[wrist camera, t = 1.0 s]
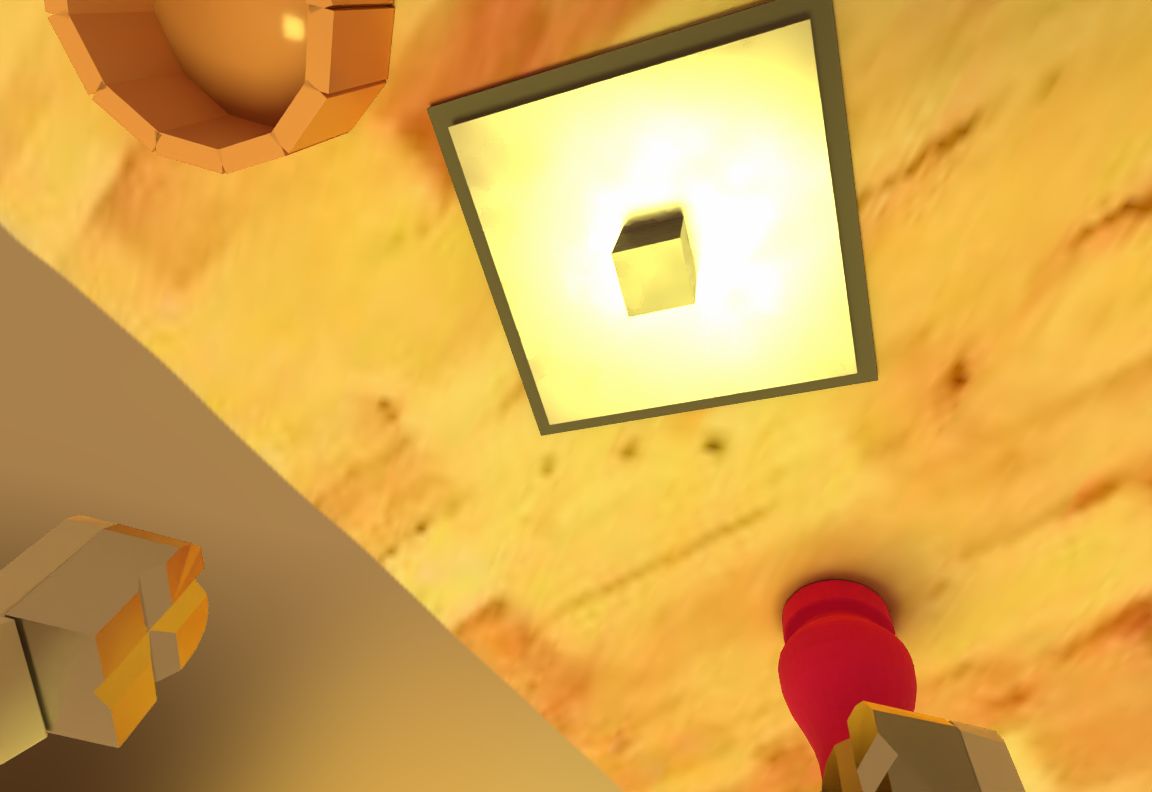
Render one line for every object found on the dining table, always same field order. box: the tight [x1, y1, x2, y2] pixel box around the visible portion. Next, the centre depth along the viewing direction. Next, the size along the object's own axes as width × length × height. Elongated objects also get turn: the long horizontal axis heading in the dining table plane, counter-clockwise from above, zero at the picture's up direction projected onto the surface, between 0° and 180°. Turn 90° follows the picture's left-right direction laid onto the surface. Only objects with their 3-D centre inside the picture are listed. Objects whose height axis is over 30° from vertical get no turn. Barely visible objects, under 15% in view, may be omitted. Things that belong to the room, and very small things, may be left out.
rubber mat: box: [427, 0, 878, 436], centre depth 36 cm, size 18×18×1 cm
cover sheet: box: [448, 19, 857, 425], centre depth 34 cm, size 16×16×4 cm
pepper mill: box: [778, 580, 917, 792], centre depth 36 cm, size 7×7×20 cm
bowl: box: [44, 0, 395, 174], centre depth 31 cm, size 12×12×6 cm
